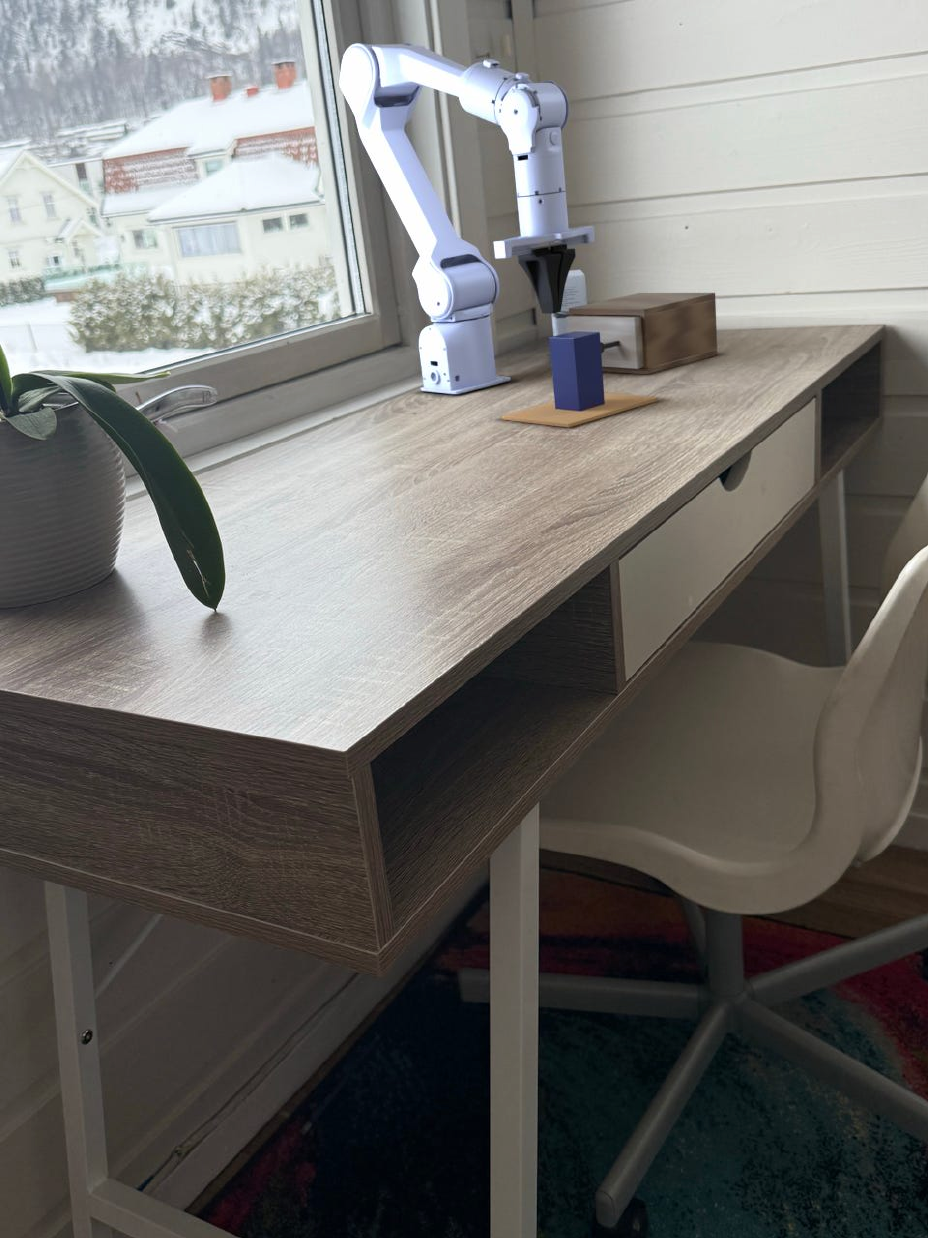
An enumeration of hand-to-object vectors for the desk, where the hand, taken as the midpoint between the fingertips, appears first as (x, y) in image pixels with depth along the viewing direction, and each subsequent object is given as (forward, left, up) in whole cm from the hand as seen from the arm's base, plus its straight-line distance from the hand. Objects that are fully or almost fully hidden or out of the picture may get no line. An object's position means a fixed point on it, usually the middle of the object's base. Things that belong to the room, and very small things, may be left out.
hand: (551, 312), depth 140 cm
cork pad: (-8, -12, -9) cm, 17 cm away
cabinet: (+18, +2, -9) cm, 20 cm away
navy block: (-8, -12, -9) cm, 17 cm away
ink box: (+19, +17, -10) cm, 27 cm away
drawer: (+14, +2, -8) cm, 17 cm away
